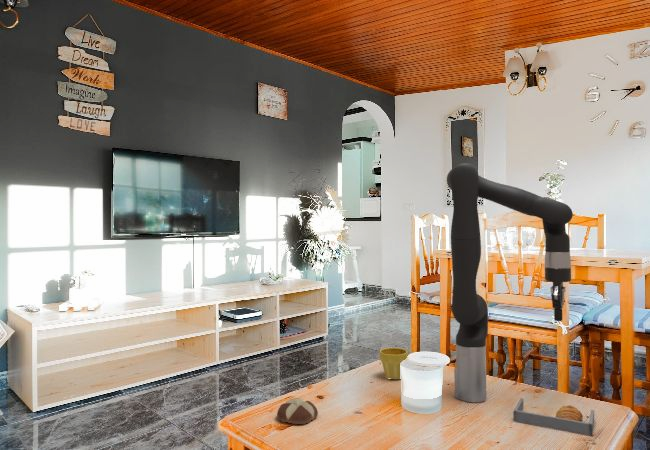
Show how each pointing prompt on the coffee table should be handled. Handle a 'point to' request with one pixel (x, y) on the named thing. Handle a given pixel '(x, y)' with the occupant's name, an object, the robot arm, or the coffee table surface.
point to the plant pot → (392, 361)
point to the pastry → (569, 413)
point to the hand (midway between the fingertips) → (558, 320)
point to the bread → (297, 411)
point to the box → (553, 421)
